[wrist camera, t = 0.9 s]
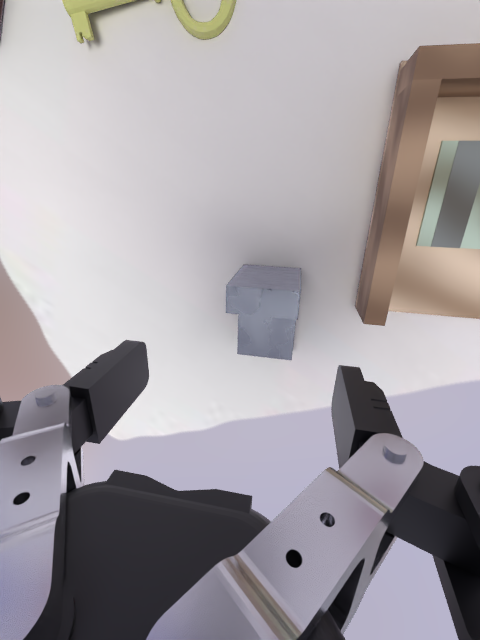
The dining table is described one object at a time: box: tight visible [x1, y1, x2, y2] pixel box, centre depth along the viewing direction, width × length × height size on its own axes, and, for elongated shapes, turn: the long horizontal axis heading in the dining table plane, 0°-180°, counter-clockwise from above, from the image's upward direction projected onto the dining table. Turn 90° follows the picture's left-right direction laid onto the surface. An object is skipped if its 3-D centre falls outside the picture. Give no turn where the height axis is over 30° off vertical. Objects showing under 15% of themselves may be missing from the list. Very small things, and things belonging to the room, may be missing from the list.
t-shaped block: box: [226, 265, 301, 360], centre depth 25 cm, size 8×5×7 cm, turn 178°
